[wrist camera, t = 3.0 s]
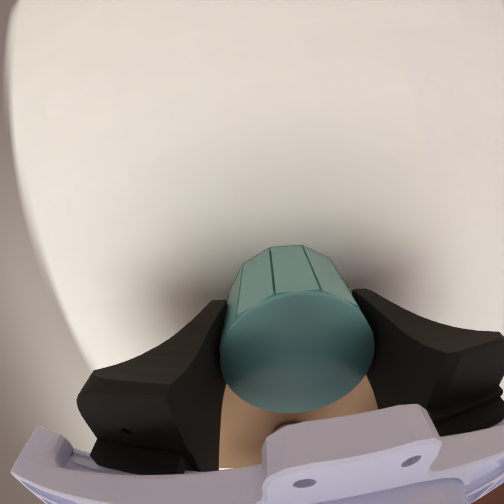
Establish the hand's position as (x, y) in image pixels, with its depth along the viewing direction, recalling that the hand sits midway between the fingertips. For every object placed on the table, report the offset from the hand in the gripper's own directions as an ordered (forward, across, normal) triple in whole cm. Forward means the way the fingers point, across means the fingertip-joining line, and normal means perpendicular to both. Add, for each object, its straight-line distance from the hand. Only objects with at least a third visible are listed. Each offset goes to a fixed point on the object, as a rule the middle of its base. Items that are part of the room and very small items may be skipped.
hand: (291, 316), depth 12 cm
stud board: (+1, 0, +9) cm, 9 cm away
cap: (+1, 0, 0) cm, 1 cm away
